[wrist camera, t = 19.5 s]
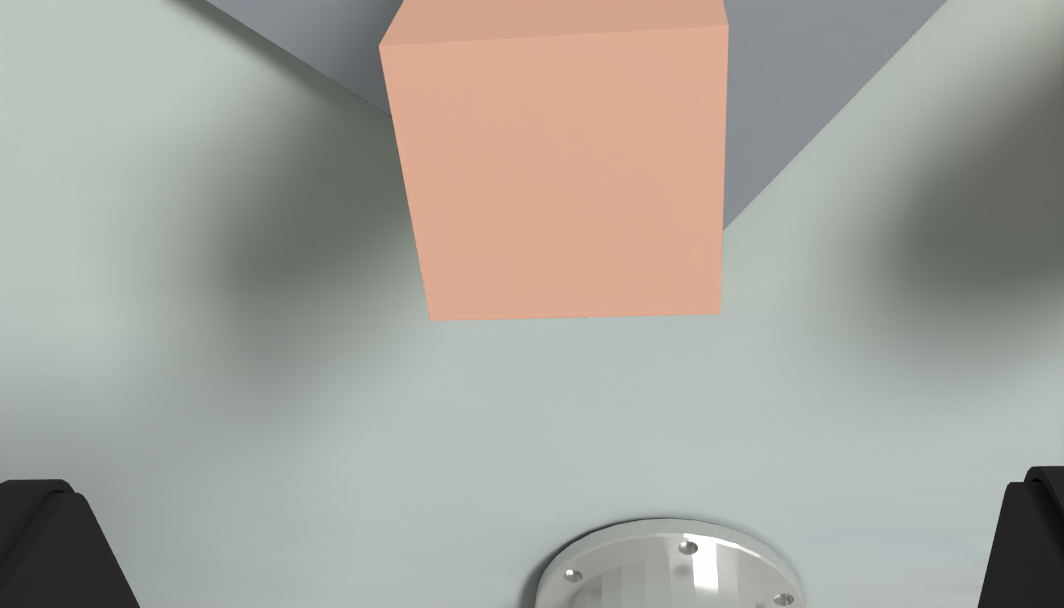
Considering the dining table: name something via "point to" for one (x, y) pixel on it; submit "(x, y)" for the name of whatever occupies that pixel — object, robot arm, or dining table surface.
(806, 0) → the baseplate
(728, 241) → the dining table surface
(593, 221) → the terracotta block
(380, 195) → the dining table surface
